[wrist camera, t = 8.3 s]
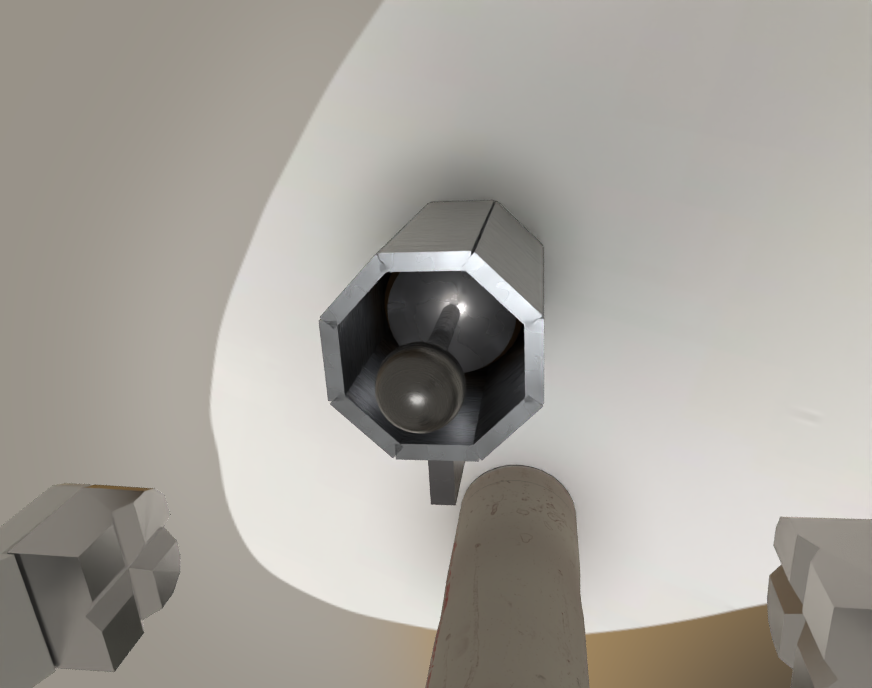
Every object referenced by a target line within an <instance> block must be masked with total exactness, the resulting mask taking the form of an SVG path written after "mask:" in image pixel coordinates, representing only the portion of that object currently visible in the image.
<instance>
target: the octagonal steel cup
mask: <svg viewBox="0 0 872 688" xmlns="http://www.w3.org/2000/svg"><path fill="white" fill-rule="evenodd" d="M411 271H467V272H468V273H469V274H470V275H471V276H472V277H473V278H474V279H475V280H476V281H477V282H479V283H480V284H481V285H482V286H483V287H484V288H485V289H486V290H487V291H488V292H489V293H490V294H492V295H493V296H494V297H495V298H496V299H497V300H498V301H499V302H500V303H501V304H502V305H503V306H504V307H506V308H507V309H508V310H509V311H510V312H511V313H512V314H513V315H514V316H515V317H516V323H515V328H514V332H513V335H512V337H511V339H510V341H509V343H508V345H507V346H506V348H505V349H504V351H503V352H502V353H501V354H500V355H499V356H498V357H497V358H496V359H494V360H493V361H492V362H490V363H489V364H487V365H486V366H484V367H482V368H479V369H477V370H474V371H471V372H465V373H464V375H465V379H466V396H465V400H464V403H463V406H462V408H461V410H460V411H459V413H458V414H457V416H456V417H455V418H454V419H453V420H452V421H451V422H450V423H449V424H448V425H446V426H444V427H443V428H441V429H439V430H436V431H433V432H429V433H412V432H407V431H404V430H402V429H400V428H398V427H396V426H395V425H393V424H392V423H391V422H390V421H389V420H388V419H387V418H386V417H385V416H384V415H383V413H382V412H381V410H380V408H379V406H378V404H377V400H376V396H375V378H376V375H377V372H378V369H379V367H380V365H381V363H382V362H383V360H384V359H385V358H386V357H387V356H388V355H389V354H390V353H391V352H392V351H393V350H395V349H396V348H398V347H400V346H399V344H398V343H397V341H396V339H395V338H394V335H393V333H392V331H391V328H390V324H389V320H388V298H389V294H390V291H391V288H392V286H393V283H394V281H395V280H396V278H397V276H398V275H399V274H400V272H411ZM320 318H321V319H320V320H319V328H320V336H321V344H322V353H323V361H324V370H325V378H326V387H327V395H328V401H332V402H331V403H330V405H332V406H333V407H334V408H335V409H336V410H337V411H339V412H340V413H341V414H342V415H343V416H344V417H346V418H347V419H348V420H349V421H350V422H351V423H353V424H354V425H355V426H356V427H357V428H358V429H360V430H361V431H362V432H363V433H364V434H365V435H367V436H368V437H369V438H370V439H371V440H372V441H373V442H375V443H376V444H377V445H378V446H379V447H380V448H382V449H383V450H384V451H385V452H386V453H387V454H389V455H390V456H391V457H392V458H393V457H394V456H395V455H396V459H402V460H428V466H429V481H430V496H431V504H435V505H456V501H457V497H458V492H459V487H460V482H461V478H462V473H463V468H464V463H465V461H479V458H480V459H481V460H483V459H484V458H485V457H486V456H488V455H489V454H490V453H491V452H492V451H493V450H494V449H495V448H497V447H498V446H499V445H500V444H501V443H502V442H503V441H504V440H506V439H507V438H508V437H509V436H510V435H511V434H512V433H513V432H515V431H516V430H517V429H518V428H519V427H520V426H521V425H523V424H524V423H525V422H526V421H527V420H528V419H529V418H530V417H532V416H533V415H534V414H535V413H536V412H537V411H538V410H539V409H541V408H542V407H543V404H544V247H543V245H542V244H541V243H540V242H539V241H538V240H537V239H536V238H535V237H534V236H533V235H532V234H531V233H530V232H529V231H528V230H527V229H526V228H525V227H524V226H522V225H521V224H520V223H519V222H518V221H517V220H516V219H515V218H514V217H513V216H512V215H511V214H510V213H509V212H508V211H507V210H506V209H505V208H504V207H503V206H501V205H500V204H499V203H498V202H497V201H496V202H495V203H494V200H475V201H445V202H430V203H428V204H427V205H426V206H425V207H424V208H423V209H422V210H421V211H420V212H419V213H418V214H417V215H416V216H415V217H414V218H412V219H411V220H410V221H409V222H408V223H407V224H406V225H405V226H404V227H403V228H402V229H401V230H400V231H399V232H398V233H397V234H396V235H395V236H394V237H393V238H392V239H391V240H390V241H389V242H388V243H387V244H386V245H385V246H384V247H383V248H382V249H380V250H379V251H378V252H377V253H376V254H375V255H374V257H373V258H372V259H371V260H370V261H369V262H368V263H367V264H366V266H365V267H364V268H363V269H362V270H361V271H360V272H359V273H358V275H357V276H356V277H355V278H354V279H353V280H352V281H351V283H350V284H349V285H348V286H347V287H346V288H345V289H344V290H343V292H342V293H341V294H340V295H339V296H338V297H337V298H336V299H335V301H334V302H333V303H332V304H331V305H330V306H329V307H328V309H327V310H326V311H325V312H324V313H323V314H322V315H321V316H320Z"/></svg>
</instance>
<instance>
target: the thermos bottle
mask: <svg viewBox="0 0 872 688" xmlns="http://www.w3.org/2000/svg"><path fill="white" fill-rule="evenodd" d="M425 688H589V677H588V664H587V652H586V639H585V626H584V617H583V610H582V604H581V596H580V562H579V549H578V536H577V523H576V511H575V508H574V504H573V501H572V499H571V497H570V495H569V493H568V492H567V490H566V489H565V488H564V487H563V485H562V484H561V483H559V482H558V481H557V480H556V479H555V478H553V477H552V476H550V475H549V474H547V473H545V472H543V471H541V470H538V469H535V468H532V467H526V466H504V467H499V468H496V469H493V470H490V471H488V472H486V473H485V474H483V475H481V476H480V477H478V478H477V479H476V480H475V481H474V482H473V483H472V484H471V485H470V487H469V488H468V490H467V491H466V493H465V495H464V498H463V500H462V504H461V509H460V514H459V519H458V525H457V530H456V535H455V540H454V545H453V550H452V555H451V560H450V565H449V570H448V575H447V581H446V587H445V594H444V600H443V606H442V612H441V617H440V622H439V626H438V630H437V634H436V637H435V642H434V647H433V652H432V657H431V662H430V667H429V672H428V677H427V682H426V687H425Z"/></svg>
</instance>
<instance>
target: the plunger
mask: <svg viewBox="0 0 872 688" xmlns="http://www.w3.org/2000/svg"><path fill="white" fill-rule="evenodd" d="M388 320H389V324H390V328H391V331H392V333H393V335H394V338H395V339H396V341H397V343H398V344H399V346H400V347H398V348H396V349H395V350H393V351H392V352H391V353H390V354H389V355H388V356H387V357H386V358H385V359H384V360H383V362H382V363H381V365H380V367H379V369H378V372H377V375H376V378H375V396H376V400H377V404H378V406H379V408H380V410H381V412H382V413H383V415H384V416H385V417H386V418H387V419H388V420H389V421H390V422H391V423H392V424H393V425H395V426H396V427H398V428H400V429H402V430H404V431H407V432H412V433H429V432H433V431H436V430H439V429H441V428H443V427H444V426H446V425H448V424H449V423H450V422H451V421H452V420H453V419H454V418H455V417H456V416H457V414H458V413H459V411H460V410H461V408H462V406H463V403H464V400H465V396H466V379H465V375H464V373H465V372H471V371H474V370H477V369H479V368H482V367H484V366H486V365H487V364H489V363H490V362H492V361H493V360H494V359H496V358H497V357H498V356H499V355H500V354H501V353H502V352H503V351H504V349H505V348H506V346H507V345H508V343H509V341H510V339H511V337H512V335H513V332H514V328H515V323H516V317H515V316H514V315H513V314H512V313H511V312H510V311H509V310H508V309H507V308H506V307H504V306H503V305H502V304H501V303H500V302H499V301H498V300H497V299H496V298H495V297H494V296H493V295H492V294H490V293H489V292H488V291H487V290H486V289H485V288H484V287H483V286H482V285H481V284H480V283H479V282H477V281H476V280H475V279H474V278H473V277H472V276H471V275H470V274H469V273H468V272H467V271H411V272H400V274H399V275H398V276H397V278H396V280H395V281H394V283H393V286H392V288H391V291H390V294H389V298H388Z"/></svg>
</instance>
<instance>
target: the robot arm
mask: <svg viewBox="0 0 872 688" xmlns="http://www.w3.org/2000/svg"><path fill="white" fill-rule="evenodd" d="M169 516H170V511H169V508H168V505H167V501H166V498H165V495H164V494H163V493H161V492H160V491H158V490H156V489H155V488H140V487H126V486H110V485H90V484H75V483H63V484H57V485H52V486H51V487H50V488H48V489H47V490H46V491H45V492H43V493H42V494H41V495H40V496H38V497H37V498H36V499H35V500H33V501H32V502H31V503H30V504H28V505H27V506H26V507H25V508H23V509H22V510H21V511H20V512H19V513H17V514H16V515H15V516H13V517H12V518H11V519H10V520H8V521H7V522H6V523H5V524H3V525H2V526H1V527H0V688H33V687H34V686H35V685H37V684H38V683H40V682H41V681H42V680H44V679H45V678H47V677H48V676H50V675H51V674H53V673H54V672H55V668H61V669H75V670H90V671H105V672H115V671H116V669H117V668H118V667H119V665H120V664H121V663H122V661H123V660H124V659H125V657H126V656H127V655H128V653H129V652H130V651H131V649H132V648H133V647H134V646H135V644H136V643H137V642H138V640H139V639H140V638H141V636H142V635H143V634H144V627H143V620H144V619H145V618H147V617H149V616H150V615H152V614H154V613H155V612H157V611H159V610H160V609H162V608H163V607H164V605H165V604H166V602H167V601H168V600H169V598H170V597H171V596H172V594H173V592H174V590H175V587H176V584H177V580H178V577H179V574H180V552H179V547H178V543H177V540H176V539H175V538H174V537H173V536H172V535H171V534H170V533H169V532H168V531H167V530H166V529H165V528H164V526H165V524H166V522H167V520H168V518H169ZM774 548H775V550H776V552H777V555H778V557H779V559H780V562H781V564H782V565H780V566H779V567H778V568H777V569H776V570H775V571H774V572H773V573H772V574H771V575H769V585H768V595H767V605H768V620H769V626H770V630H771V635H772V640H773V642H774V645H775V648H776V651H777V654H778V657H779V658H780V659H781V660H782V661H784V662H785V663H786V664H787V665H788V666H790V667H791V668H792V669H793V674H792V681H791V688H872V519H845V518H811V517H780V519H779V521H778V524H777V526H776V531H775V538H774Z"/></svg>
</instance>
